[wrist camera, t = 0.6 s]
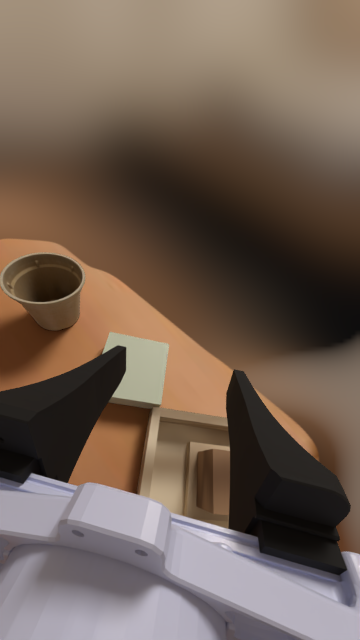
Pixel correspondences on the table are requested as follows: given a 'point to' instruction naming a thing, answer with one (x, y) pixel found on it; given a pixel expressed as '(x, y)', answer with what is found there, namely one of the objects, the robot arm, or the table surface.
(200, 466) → the walnut block
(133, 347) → the sage stand
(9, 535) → the robot arm
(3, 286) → the flower pot
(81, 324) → the table surface
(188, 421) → the birch box
